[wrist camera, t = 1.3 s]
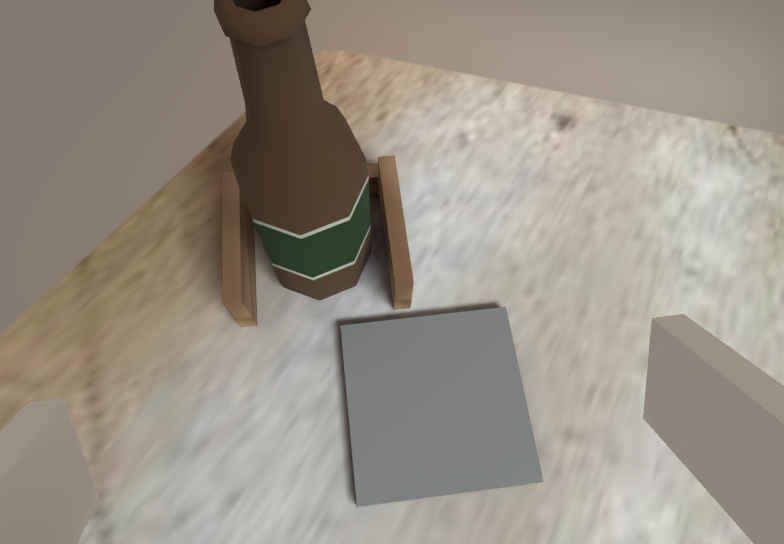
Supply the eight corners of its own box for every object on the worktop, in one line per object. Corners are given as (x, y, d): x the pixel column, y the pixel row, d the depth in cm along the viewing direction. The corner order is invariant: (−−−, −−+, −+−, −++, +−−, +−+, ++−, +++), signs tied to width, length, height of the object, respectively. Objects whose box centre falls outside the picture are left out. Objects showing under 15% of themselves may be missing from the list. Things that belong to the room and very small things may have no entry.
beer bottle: (371, 210, 45) (359, -83, 23) (373, 302, 42) (361, 65, 20) (272, 212, 45) (166, -81, 23) (267, 305, 42) (138, 68, 20)
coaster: (503, 310, 42) (505, 306, 41) (540, 482, 37) (543, 482, 37) (341, 329, 41) (340, 325, 41) (357, 506, 37) (356, 506, 36)
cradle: (391, 179, 46) (392, 141, 42) (410, 308, 42) (413, 282, 37) (237, 194, 46) (221, 157, 41) (240, 327, 41) (222, 302, 37)
